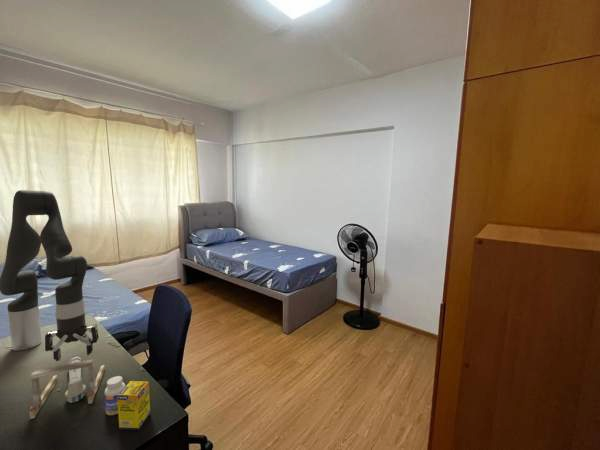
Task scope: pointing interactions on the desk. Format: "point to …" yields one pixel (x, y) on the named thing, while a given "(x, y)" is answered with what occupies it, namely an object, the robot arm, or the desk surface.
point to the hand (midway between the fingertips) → (74, 356)
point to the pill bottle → (113, 394)
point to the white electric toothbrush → (75, 383)
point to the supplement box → (133, 405)
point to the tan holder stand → (41, 398)
